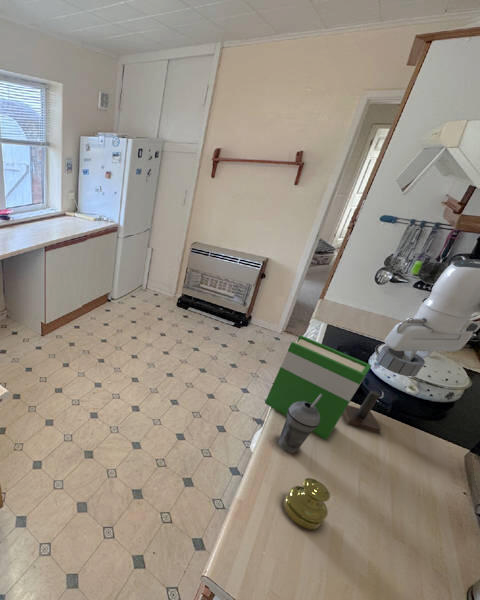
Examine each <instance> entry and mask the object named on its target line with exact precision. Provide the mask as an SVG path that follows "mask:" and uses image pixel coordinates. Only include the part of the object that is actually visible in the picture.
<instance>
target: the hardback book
mask: <svg viewBox="0 0 480 600" xmlns="http://www.w3.org/2000/svg"><path fill="white" fill-rule="evenodd" d="M371 367H372V364H369V363H367V362H365V361H363V360H360V359H358V358H356V357H353V356H351V355H349V354H346V353H343V352H341V351H340V350H337V349H334V348H332V347H330V346H328V345H325V344H323V343H320V342H318V341H316V340H313V339H311V338H309V337H306V336H304V335H302V334H299V336H298V338H297V341H296V342H294V341H291V343H290V345H289V347H288V349H287V351H286V354H285V356H284V358H283V361H282V363H281V366H280V367H279V369H278V372H277V374H276V376H275V379H274V381H273V383H272V385H271V387H270V390H269V392H268V394H267V397H266V399H265V401H264V404H265V405H267V406H269V407H270V408H272V409H274V410H275V411H277V412H279V413H280V414H282V415H284V416H285V417H287V412H288V408H289V407H290V406H291V405H292V404H293V403H296V402H299V401H305V402H308V403H311V404H313V403H314V401H315V400H316V399H317V398H318V396H319V395H320V394H322V397H321V398H320V399H319V400H318V402H317V403H316V404H315V405H314V406H315V407H316V408H317V410H318V411H319V414H320V421H319V425H318V426H317V427H316V428H315V429H314V430H313V431H312V432H313V434H316V435H317V436H319V437H320V438H322V439H324V440H327V439H328V438H329V437H330V435H331V433H332V432H333V431H334V429H335V427H336V426H337V424H338V422H339V421H340V419H341V417H342V416H343V412H344V411H345V409H346V407H347V406H348V405H350V403H351V400H352V399H353V397H354V395H355V394H356V392H357V390H358V389H359V388H360V386H361V384H362V382H363V381H364V379H365V377H366V376H367V374H368V373H369V371H370V369H371ZM312 432H311V433H312Z"/></svg>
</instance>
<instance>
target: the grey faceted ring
mask: <svg viewBox="0 0 480 600" xmlns="http://www.w3.org/2000/svg"><path fill="white" fill-rule="evenodd" d="M404 355H405V354H404V351H395V350H393V349H392V348H390V347H388V346H387V345H383V347H382V348H381V349H380V351H379V353H378V354H377V356H376V358H375V361H376V362H377V364H378V365H380V366H381V367H382V368H384V369H385V370H387V371H390V372H392V373H393V374H394V373H395V374H398V375H401V376H405V377H416V376H417V375H418V374H419V372H420V371H421V369H422V368H423V366H424V365H425V364H426V360H425V359H422V358H421V357H420V356H419V355H417V353H414V356H413V357H414V358H415V360H414V361H413V362H410V361H406V360H403V359H402V358H403V356H404Z"/></svg>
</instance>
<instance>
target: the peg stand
mask: <svg viewBox="0 0 480 600" xmlns="http://www.w3.org/2000/svg"><path fill="white" fill-rule="evenodd" d="M380 397H381V394H380V393H379V392H377V391H376V390H370V391H369V392H368V394H367V396H366V397H365V398H364V400H363V401H362V403H361V405H360V407H355V406H352V405H350V404H348V406H347V407H346V409H345V411H344V412H343V414H342V416H343V418H344V419H345V422H346V424H347V425H350V426H353V427H356V428H360V429H363V430H366V431H370V432H373V433H376V434H380V432H381V428H380V426H379V424H378V422H377V420H376V418H375V416H374V415H373V413H372V411H371V410H372V409H373V407H374V406H375V404H376V403H377V402H378V400H379V398H380Z"/></svg>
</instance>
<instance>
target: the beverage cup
mask: <svg viewBox="0 0 480 600" xmlns="http://www.w3.org/2000/svg"><path fill="white" fill-rule="evenodd" d="M321 397H322V394H320V395H319V396H318V398H317V399H316V400H315V401H314V403H313V404H311V403H308V402H305V401H299V402H296V403H293V404H292V405H291V406H290V407H289V408H288V412H287V416H286V418H285V421H284V424H283V427H282V430H281V433H280V434H279V435H280V436H279V438H278V439H279V440H278V445H279V446H280V448H282V449H283V450H284V451H285V452H287V453H291V454H294V453H297V451H298V450H299V449H300V448H301V447H302V445H303V443H304V442H306V440H307V438H308V437H309V436H310V434H312V431H313V430H314V429H315V428H316V427H317V426H318V425H319V421H320V414H319V411H318V410H317V408H316V407H315V406H314V405H315V404H316V403H317V402H318V400H319V399H320V398H321Z"/></svg>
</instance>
